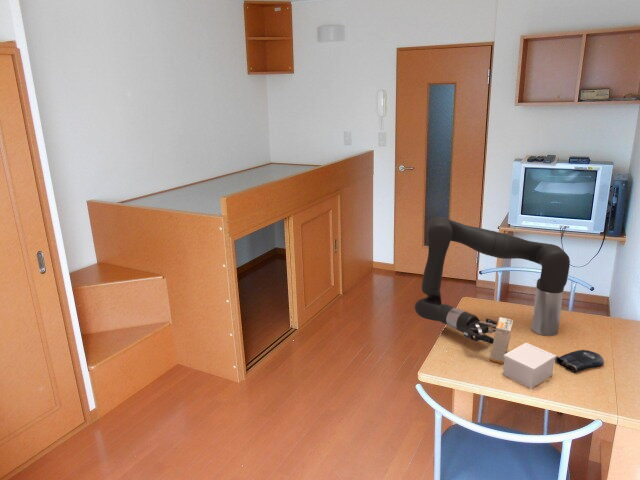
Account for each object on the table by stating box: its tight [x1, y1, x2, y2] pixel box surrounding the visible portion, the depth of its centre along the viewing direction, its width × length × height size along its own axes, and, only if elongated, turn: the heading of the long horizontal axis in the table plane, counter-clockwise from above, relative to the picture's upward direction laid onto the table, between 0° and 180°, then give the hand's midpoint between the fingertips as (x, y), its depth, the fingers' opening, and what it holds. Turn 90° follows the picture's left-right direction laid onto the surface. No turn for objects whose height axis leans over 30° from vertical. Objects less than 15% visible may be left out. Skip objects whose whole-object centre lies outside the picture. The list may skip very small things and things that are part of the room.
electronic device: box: [554, 349, 605, 374], centre depth 166 cm, size 9×6×15 cm
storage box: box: [502, 342, 557, 389], centre depth 159 cm, size 13×11×7 cm
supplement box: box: [489, 316, 514, 365], centre depth 168 cm, size 8×5×13 cm, turn 154°
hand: (500, 337), depth 169 cm, fingers closed on supplement box, 8 cm apart
